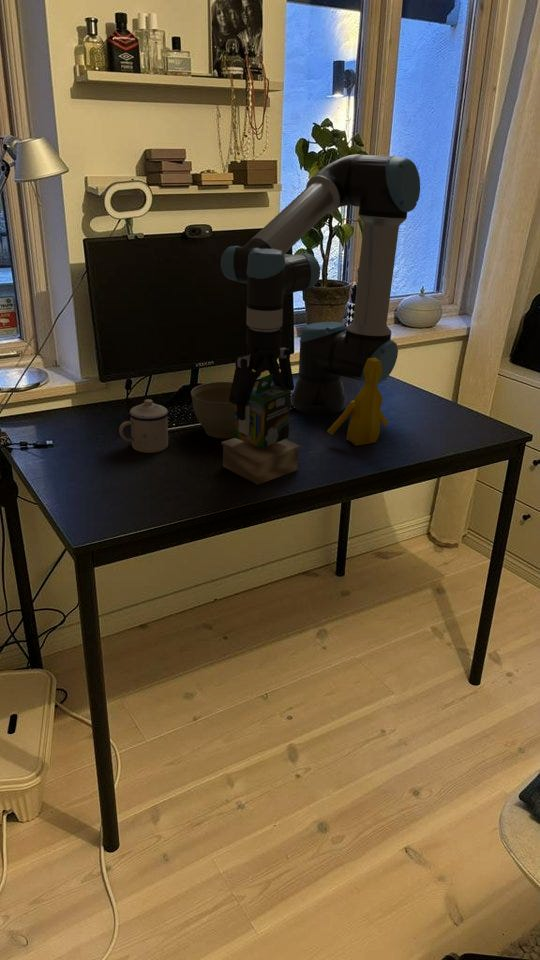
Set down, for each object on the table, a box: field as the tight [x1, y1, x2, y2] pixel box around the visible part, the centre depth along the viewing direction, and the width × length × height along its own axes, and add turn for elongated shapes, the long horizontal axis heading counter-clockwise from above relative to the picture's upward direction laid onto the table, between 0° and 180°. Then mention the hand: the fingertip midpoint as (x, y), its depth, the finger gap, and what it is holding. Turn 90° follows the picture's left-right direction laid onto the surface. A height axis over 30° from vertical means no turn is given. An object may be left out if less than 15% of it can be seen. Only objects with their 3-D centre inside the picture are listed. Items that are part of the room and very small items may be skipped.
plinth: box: [220, 438, 302, 485], centre depth 164 cm, size 13×13×6 cm
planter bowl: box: [190, 381, 234, 439], centre depth 182 cm, size 16×16×11 cm
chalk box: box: [234, 373, 292, 449], centre depth 159 cm, size 9×9×15 cm
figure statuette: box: [326, 357, 389, 446], centre depth 177 cm, size 18×8×22 cm, turn 116°
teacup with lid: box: [118, 398, 169, 454], centre depth 172 cm, size 12×9×12 cm
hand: (261, 427), depth 161 cm, fingers closed on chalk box, 9 cm apart
